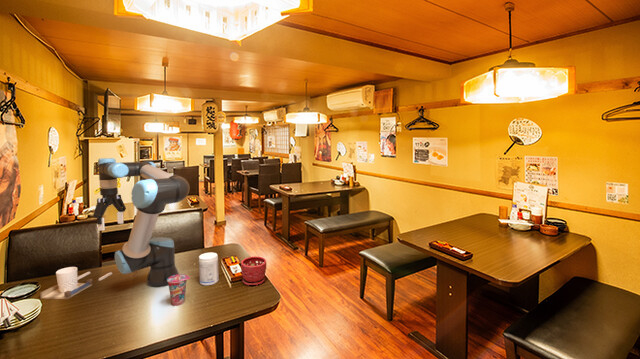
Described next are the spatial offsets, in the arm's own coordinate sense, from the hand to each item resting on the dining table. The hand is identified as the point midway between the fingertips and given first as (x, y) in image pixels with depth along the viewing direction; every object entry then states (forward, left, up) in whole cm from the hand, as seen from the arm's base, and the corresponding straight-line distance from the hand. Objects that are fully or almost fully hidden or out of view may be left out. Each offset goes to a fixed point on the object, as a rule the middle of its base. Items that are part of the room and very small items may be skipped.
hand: (111, 226), depth 153 cm
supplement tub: (-53, +2, -29) cm, 60 cm away
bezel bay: (+12, +16, -29) cm, 35 cm away
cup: (-48, +23, -29) cm, 60 cm away
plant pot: (-77, +1, -29) cm, 82 cm away
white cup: (+12, +15, -28) cm, 34 cm away
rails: (+12, 0, -29) cm, 31 cm away
